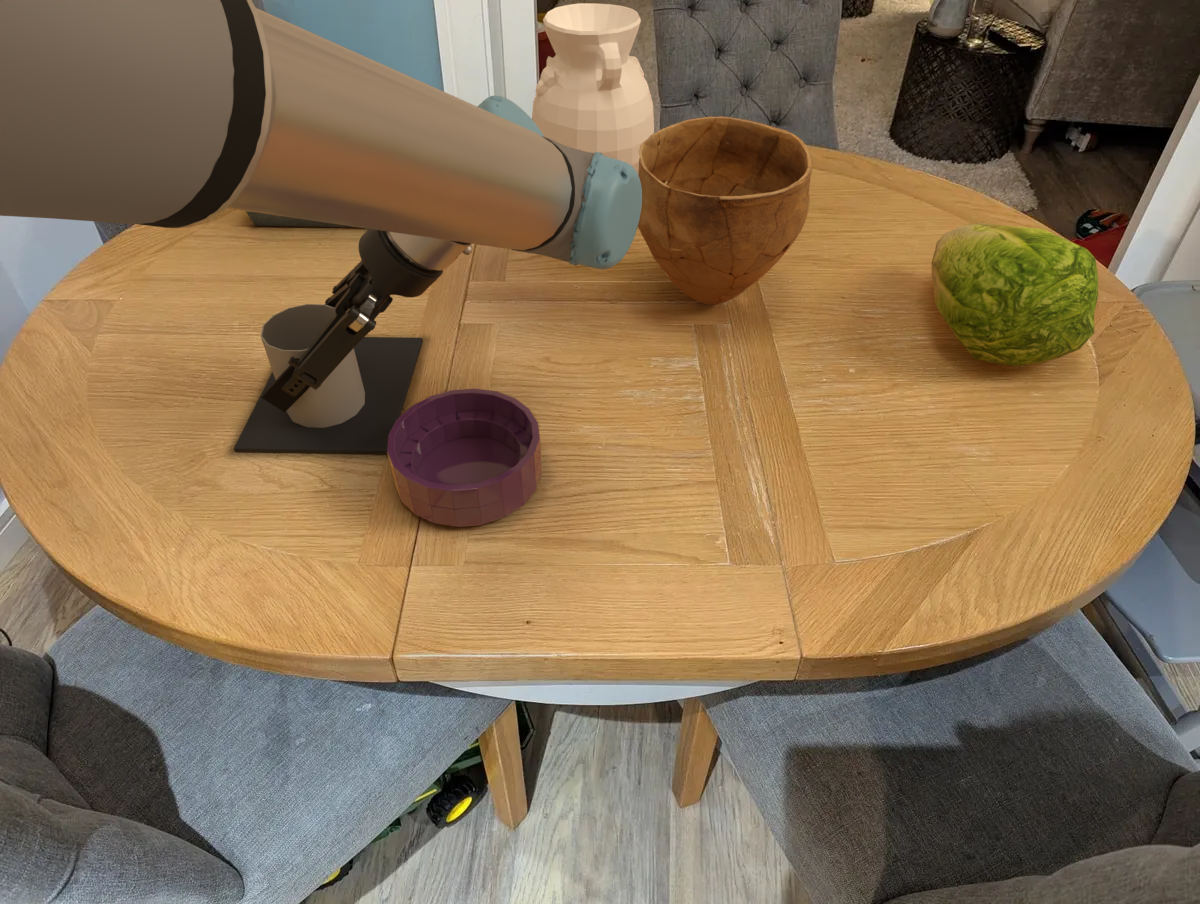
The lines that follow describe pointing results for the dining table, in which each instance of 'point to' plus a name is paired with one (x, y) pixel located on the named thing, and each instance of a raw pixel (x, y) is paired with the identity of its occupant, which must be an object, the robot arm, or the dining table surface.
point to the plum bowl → (465, 457)
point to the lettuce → (1015, 292)
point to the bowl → (722, 202)
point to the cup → (292, 339)
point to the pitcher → (594, 82)
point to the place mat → (365, 433)
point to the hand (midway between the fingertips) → (287, 375)
